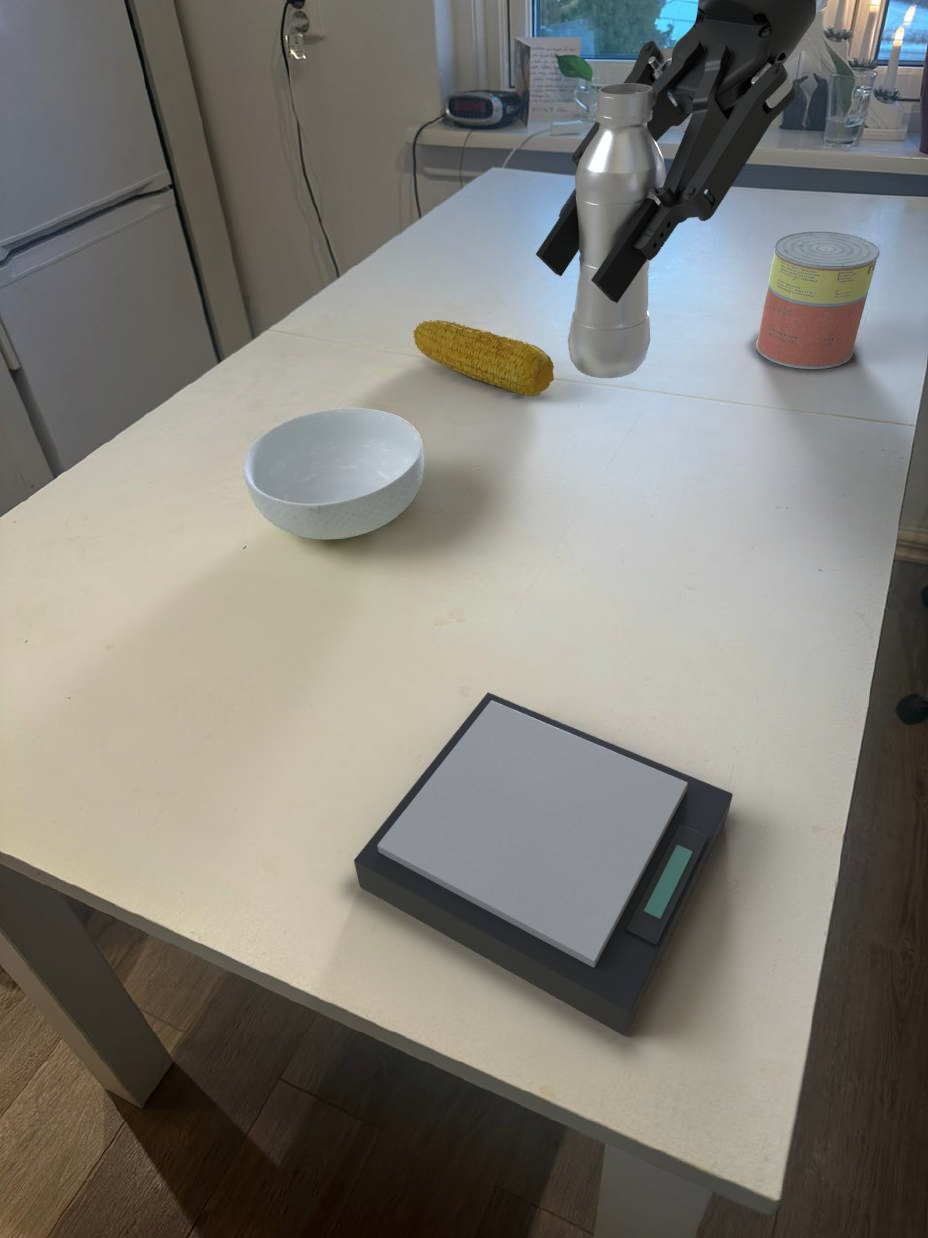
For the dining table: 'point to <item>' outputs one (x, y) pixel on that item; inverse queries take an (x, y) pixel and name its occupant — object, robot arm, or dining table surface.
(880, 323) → the dining table surface
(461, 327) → the food
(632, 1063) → the dining table surface
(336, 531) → the cereal bowl
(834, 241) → the canned food
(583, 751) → the scale
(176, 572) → the dining table surface
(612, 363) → the silver aluminium bottle
